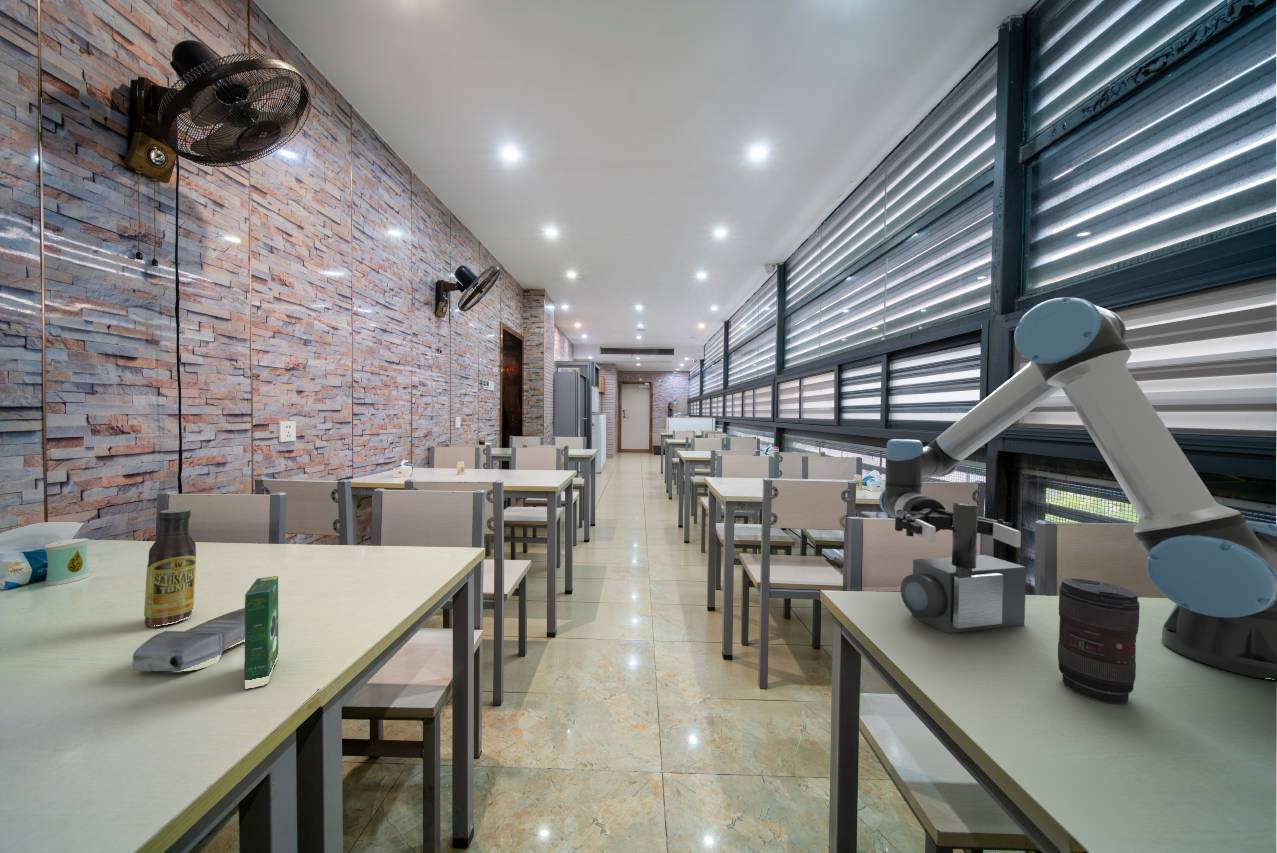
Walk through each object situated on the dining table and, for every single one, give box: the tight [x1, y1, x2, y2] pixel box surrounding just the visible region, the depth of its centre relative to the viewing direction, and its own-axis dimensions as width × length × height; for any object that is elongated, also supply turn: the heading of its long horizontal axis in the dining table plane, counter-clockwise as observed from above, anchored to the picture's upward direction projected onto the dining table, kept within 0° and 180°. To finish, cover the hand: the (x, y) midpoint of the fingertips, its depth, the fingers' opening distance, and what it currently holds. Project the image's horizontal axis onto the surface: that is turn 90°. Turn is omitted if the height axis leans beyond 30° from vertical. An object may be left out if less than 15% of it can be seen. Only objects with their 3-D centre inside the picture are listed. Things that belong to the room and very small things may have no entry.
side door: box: [951, 502, 1003, 629], centre depth 83 cm, size 10×4×22 cm, turn 104°
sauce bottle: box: [143, 508, 197, 627], centre depth 82 cm, size 6×6×20 cm
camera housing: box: [900, 554, 1027, 634], centre depth 88 cm, size 21×8×11 cm, turn 104°
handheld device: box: [132, 607, 245, 672], centre depth 74 cm, size 10×20×5 cm, turn 178°
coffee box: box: [243, 575, 279, 680], centre depth 66 cm, size 8×3×13 cm, turn 30°
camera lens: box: [1057, 577, 1140, 705], centre depth 66 cm, size 8×8×15 cm
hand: (975, 537), depth 79 cm, fingers open, 12 cm apart
